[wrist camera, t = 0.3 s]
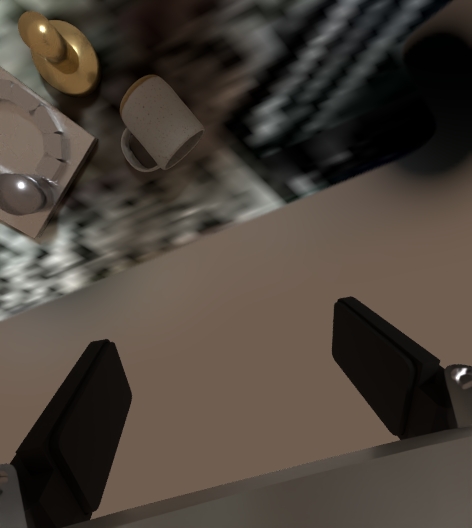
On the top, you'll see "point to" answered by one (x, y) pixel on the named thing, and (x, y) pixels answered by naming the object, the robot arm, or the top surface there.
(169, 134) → the ceramic mug
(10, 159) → the carrier
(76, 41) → the brass door knob
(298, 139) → the top surface
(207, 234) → the top surface
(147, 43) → the top surface
